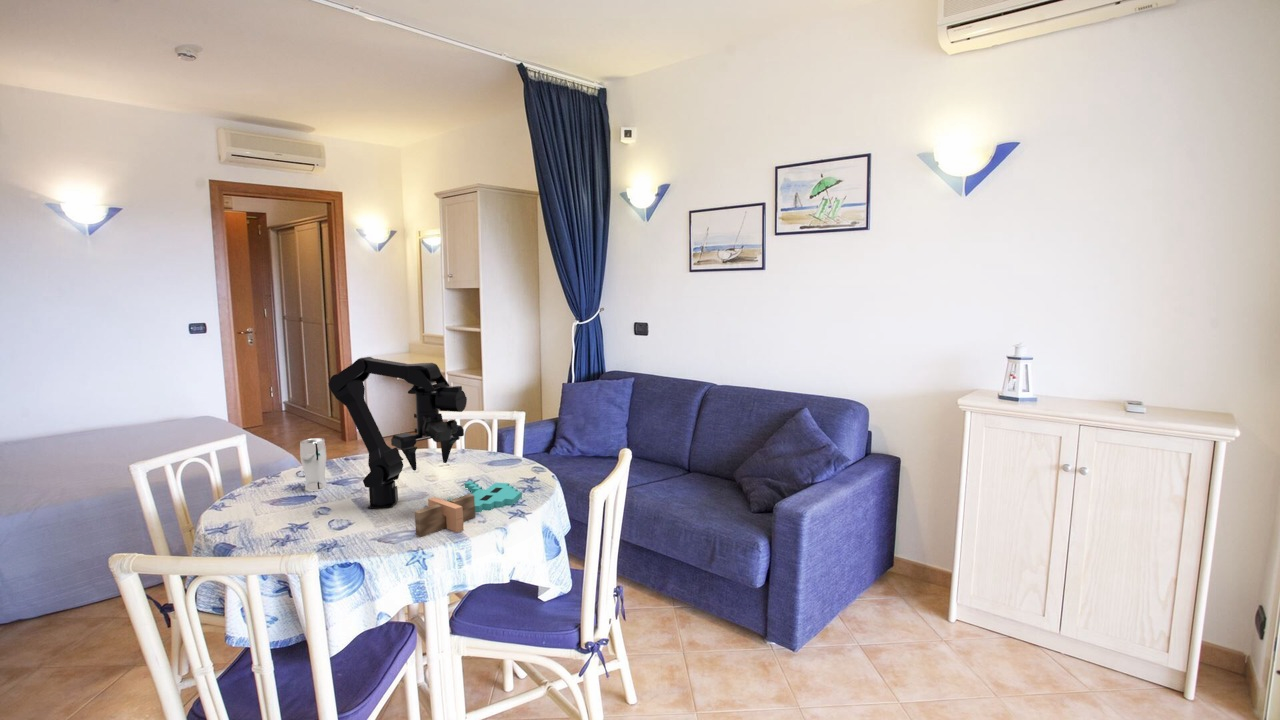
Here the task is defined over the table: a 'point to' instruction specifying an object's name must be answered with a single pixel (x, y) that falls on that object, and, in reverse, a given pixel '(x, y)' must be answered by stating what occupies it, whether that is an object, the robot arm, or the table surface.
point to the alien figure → (492, 495)
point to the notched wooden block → (435, 521)
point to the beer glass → (314, 463)
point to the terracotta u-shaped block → (450, 513)
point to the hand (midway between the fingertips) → (430, 466)
